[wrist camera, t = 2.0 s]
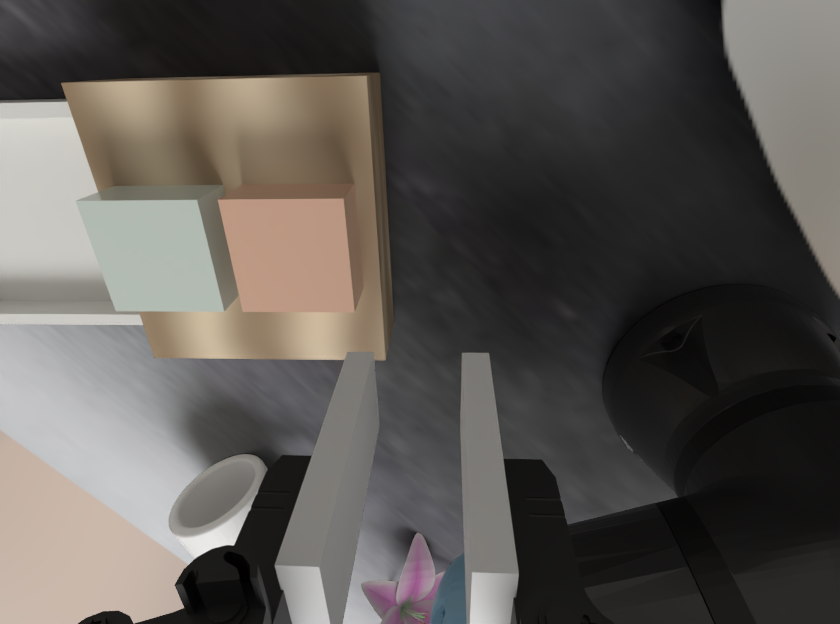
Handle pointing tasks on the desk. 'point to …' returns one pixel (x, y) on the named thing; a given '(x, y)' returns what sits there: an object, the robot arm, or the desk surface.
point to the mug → (216, 504)
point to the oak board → (245, 165)
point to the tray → (47, 222)
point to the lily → (407, 589)
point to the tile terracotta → (294, 246)
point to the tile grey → (161, 247)
